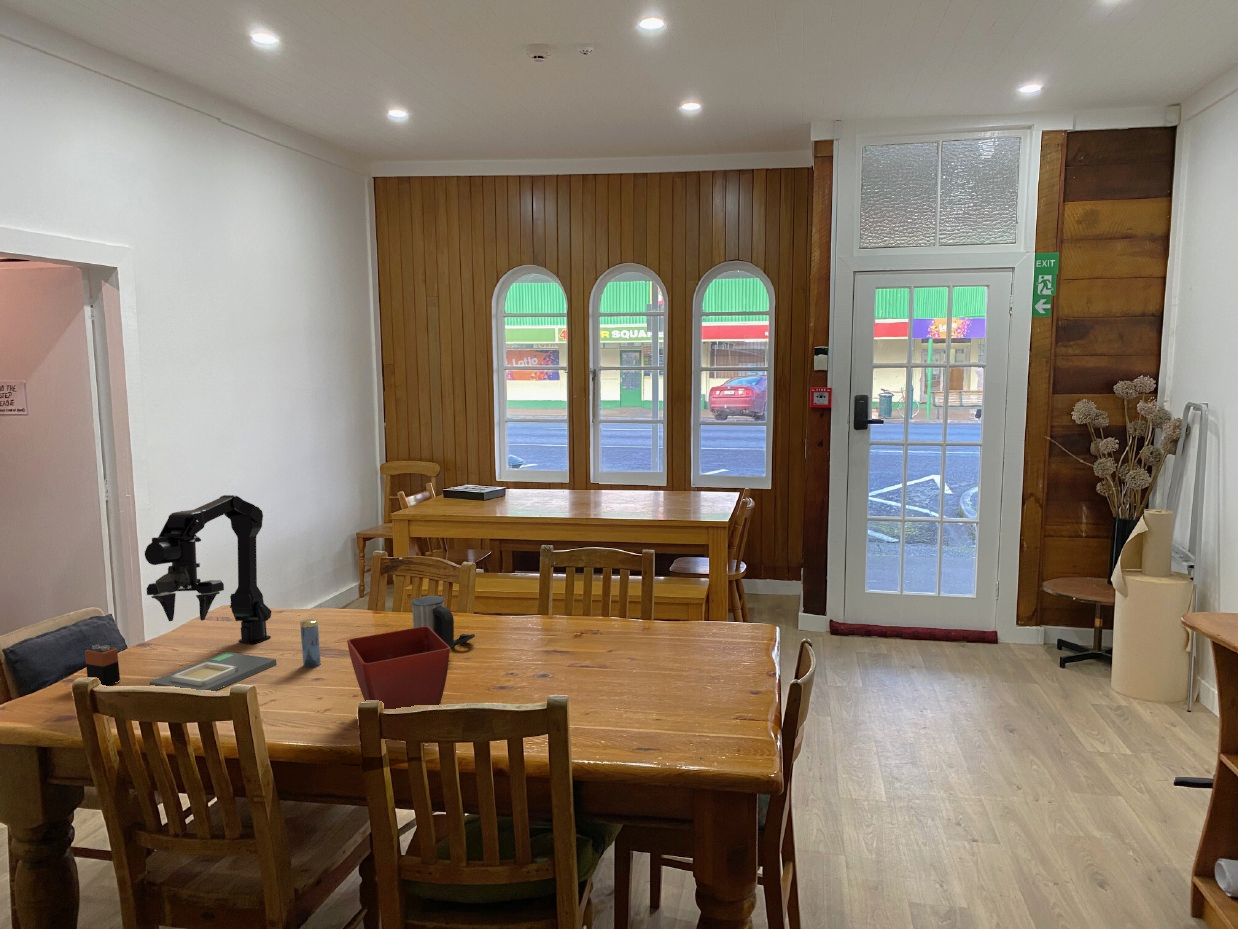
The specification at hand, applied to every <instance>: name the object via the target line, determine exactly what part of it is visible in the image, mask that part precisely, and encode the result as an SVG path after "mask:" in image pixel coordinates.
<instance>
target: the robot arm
mask: <svg viewBox="0 0 1238 929" xmlns="http://www.w3.org/2000/svg"><path fill="white" fill-rule="evenodd" d="M223 515H224V516H225V517H226V518H227V519H229V520H230V525H231V529H232V531H233V532H234V534H235V535H236V537H237V579H238V580H237V588H236V590H235V591H234V593H231V594H230V605H229V606H230V607H229V608H230V610H231V612H232V614H233V617H234V620H235V621H236V622H240V623H241V624H240V635H241V636H240V637H241V638H240V639H238V642H239V643H244V644H252V645H256V644H259V643H260V642H263V641H265V640H268V639H270V638H271V639H272V636H271V635H268V634H267V621H269V619H271V618H272V610H271V609H270V608H269V607H268V605H267V604H265V603H264V595H263V593H262V591H261V590H260V589H259V587H258V582H257V580H258V579H257V578H258V576H257V572H258V569H257V563H258V562H257V535H258V534H259V532H260V531H261V529H262V527H263V520H264V514H263V510H262V509H261V508H260V507H259V506H256V505H255V504H253V503H250V502H249V501H247V500H244V499H242V498H241V497H240V496H238V495H235V494H232V495H229V494H226V495H221V496H219V497H218V498H216V499H214V500H212V501H210V502H207V503H206V504H203V505H200V506H198V507H196V508H194V509H191V510H181V511H180V510H179V511H177V512H171V514H169V515H168V518H167V520H166V522H165V524H164V526H163V527H162V529H161V532H160V533H159V534H158V537H157V536H156V537H152V538H151V542H150V543H149V544H148V545H147V546H146V547H145V550H144V558H145V560H146V562H148V564H149V565H152V566H157V565H158V566H159V565H163V564H171V565H168V568H167V573H165V574H163V575H162V576H160V577H159V578H157V579H156V580H155V582H153V583H148V585H147V587H146V595H147V596H150V597H151V598H152V599H155V600H156V601H157V602H159V604H160V605H161V607H162V608H163V611H164V613H165V615H166V616H165V617H166V618H167V620H168V622H172V621H174V617H175V607H176V592H197V593H198V594H195V597H196V598H197V600H198V602H199V603H198V604H199V619H200V621H205V620H206V617H207V614H208V612H209V610H210V608H211V606H212V604H213V602H214V600H215V599H216V597H217V595H219V594H220V592H223V591H224V589H225V585H224V582H223V580H221V579H217V580H216V579H214V580H213V579H209V580H205V581H202V580H201V578H198V569H197V568H200V567H201V563H200V562H199V563H198V562H197V551H196V550H197V548H196V543H199V542H201V541H202V539H201V538H200V537H199V536H198V535H197V534H198V533H199V532H200V531H202V530H203V529H204V528H205V526H206V524H207V523H209V522H210V521H213V520H215V519H217V518H220V517H222V516H223Z"/></svg>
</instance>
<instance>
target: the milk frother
mask: <svg viewBox="0 0 1238 929" xmlns="http://www.w3.org/2000/svg"><path fill="white" fill-rule="evenodd" d="M445 600H446V599H445V597H444V596H439V595H427V596H420V597H417V598H414V599H412V600H411V601H410V603H411V610H412V623H413V624H412V625H413V628H417V627H422V626H428V627H430V628H431V629H432V630H433V631H434V632H435V633H436V634H437V635H438V636H439V637H440V638H441V639H442V640H443V641H444V642H445V643H446V644H447V645H448V646H449V647H450V649H451V648H453V647H455V646H458V645H460V644H463V645H464V644H466V643H467V642H468V641H470V640H472V639H474V638H475V637H476V634H475V633H471V634H468V633H462V634H460V635H459V636H458V637H457V638H456V639H455V625H454V624H455V623H454V622H455V620H454V616H453V613H452V611H451V610H450V609H449V608H448V607H446V606H445Z"/></svg>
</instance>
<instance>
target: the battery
mask: <svg viewBox="0 0 1238 929" xmlns="http://www.w3.org/2000/svg"><path fill="white" fill-rule="evenodd" d="M91 646H92V647H91V648H89V649H86V650H85V651H84V655H85V656H84V657H85V666H86V676H87V677H97V678H99V680H100V681H101V684H102V685H106V686H109V685H111V686H114V685H116V684H115V682H118V681H119V680H120V681H121V676H120V666H119V656H118V654H119V653H118V649H117V648H116V647H111V646H110V645H109V644H108V645H99V644H94V645H91ZM87 677H86V678H87ZM109 687H110V686H109Z"/></svg>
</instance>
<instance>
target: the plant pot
mask: <svg viewBox="0 0 1238 929" xmlns="http://www.w3.org/2000/svg"><path fill="white" fill-rule="evenodd" d="M346 644H347V648H348V652H349V657H350V661H351V664H352V667H353V668H352V669H353V672H354V675H355V677H356V681H357V683H358V687H359V690H360V692H361V695H362V697H363V700H364V702H365V701H366V700H379V701H382V702H383V703H384V709H396V708H401V707H411V706H414V705H439V704H440V705H441V702H442V699H443V695H444V692H445V691H444V690H445V687H446V682H447V676H448V671H449V670H448V669H449V661H450V653H451V652H450V650H451V648H450V647H449V646H448V645H447V644H446V643H445V642H444V641H443V640H442V639H441V638H440V637H439V636H438V635H437V634H436V633H435V632H434V631H433V630H432V629H431V628H430V627H428V626H422V627H417V628H414V627H411V628H406V629H400V630H395V631H388V632H383V633H377V634H369V635H365V636H359V637H354V638H349V639H347V641H346Z"/></svg>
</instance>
